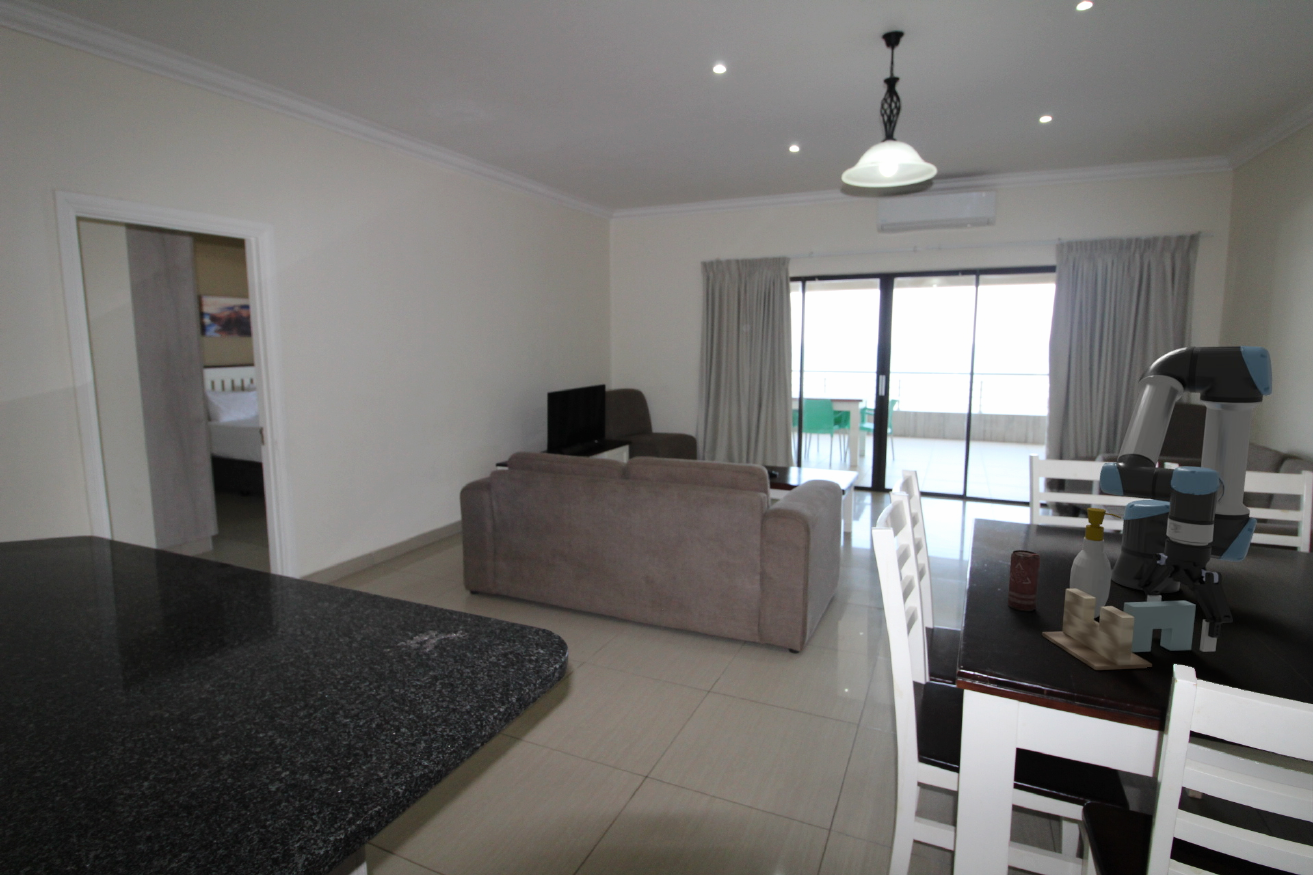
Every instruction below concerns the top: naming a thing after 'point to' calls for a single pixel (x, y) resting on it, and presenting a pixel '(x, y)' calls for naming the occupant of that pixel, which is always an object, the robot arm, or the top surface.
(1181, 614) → the pale blue tunnel block
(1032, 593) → the can
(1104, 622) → the birch jig
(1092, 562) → the soap bottle
